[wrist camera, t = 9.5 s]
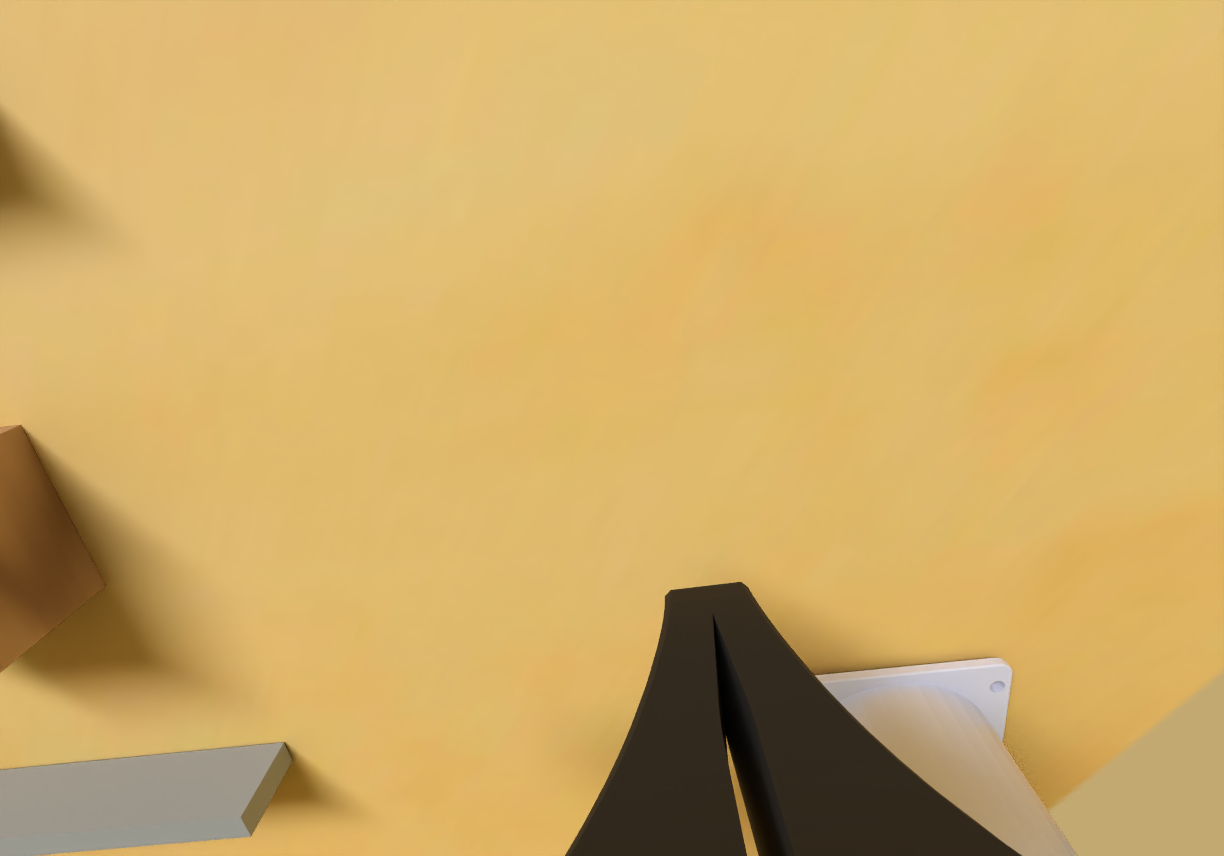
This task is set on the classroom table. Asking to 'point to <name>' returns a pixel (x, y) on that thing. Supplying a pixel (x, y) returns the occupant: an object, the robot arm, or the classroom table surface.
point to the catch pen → (138, 800)
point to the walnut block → (36, 551)
